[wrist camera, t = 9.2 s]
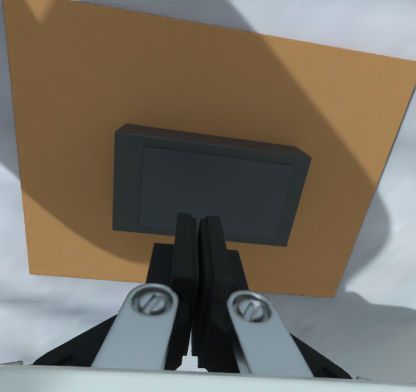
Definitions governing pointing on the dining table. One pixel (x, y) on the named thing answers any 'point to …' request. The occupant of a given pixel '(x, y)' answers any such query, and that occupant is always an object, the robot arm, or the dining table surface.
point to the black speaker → (206, 183)
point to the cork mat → (191, 122)
